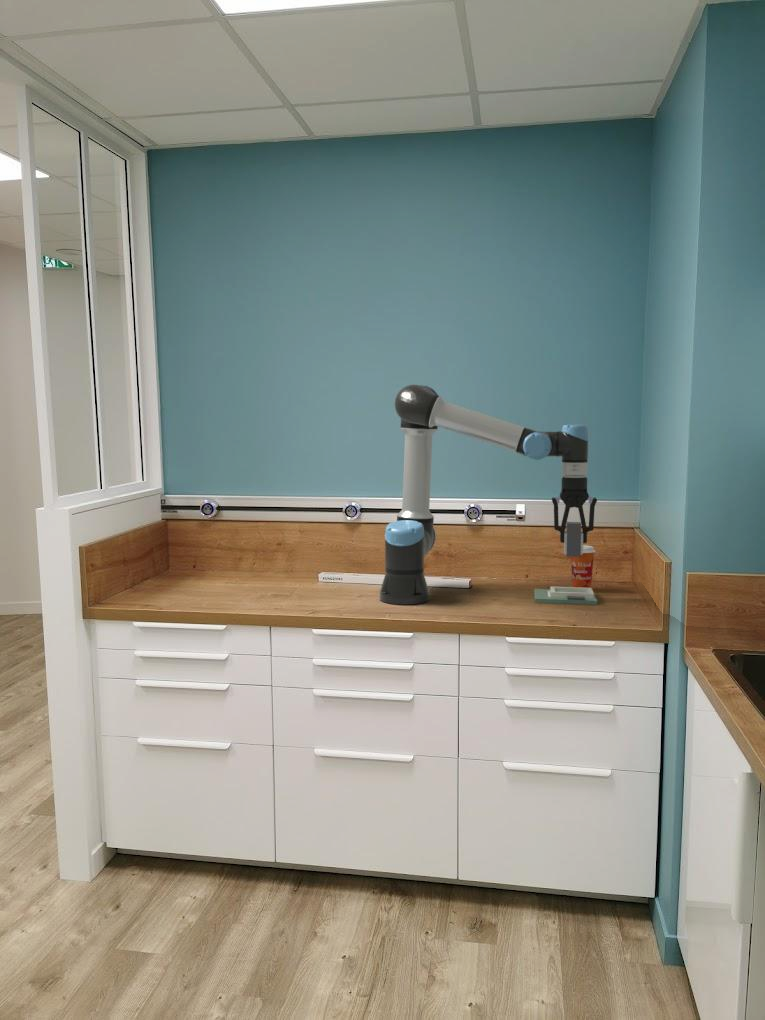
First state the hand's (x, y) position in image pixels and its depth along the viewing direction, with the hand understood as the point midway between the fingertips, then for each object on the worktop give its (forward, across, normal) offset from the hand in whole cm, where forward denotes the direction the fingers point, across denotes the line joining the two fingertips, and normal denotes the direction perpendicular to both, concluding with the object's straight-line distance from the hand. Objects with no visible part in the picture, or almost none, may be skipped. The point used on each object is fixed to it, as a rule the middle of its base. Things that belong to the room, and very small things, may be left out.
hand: (573, 553), depth 246 cm
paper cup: (+14, +4, +13) cm, 20 cm away
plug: (+1, 0, 0) cm, 1 cm away
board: (+14, -2, 0) cm, 14 cm away
